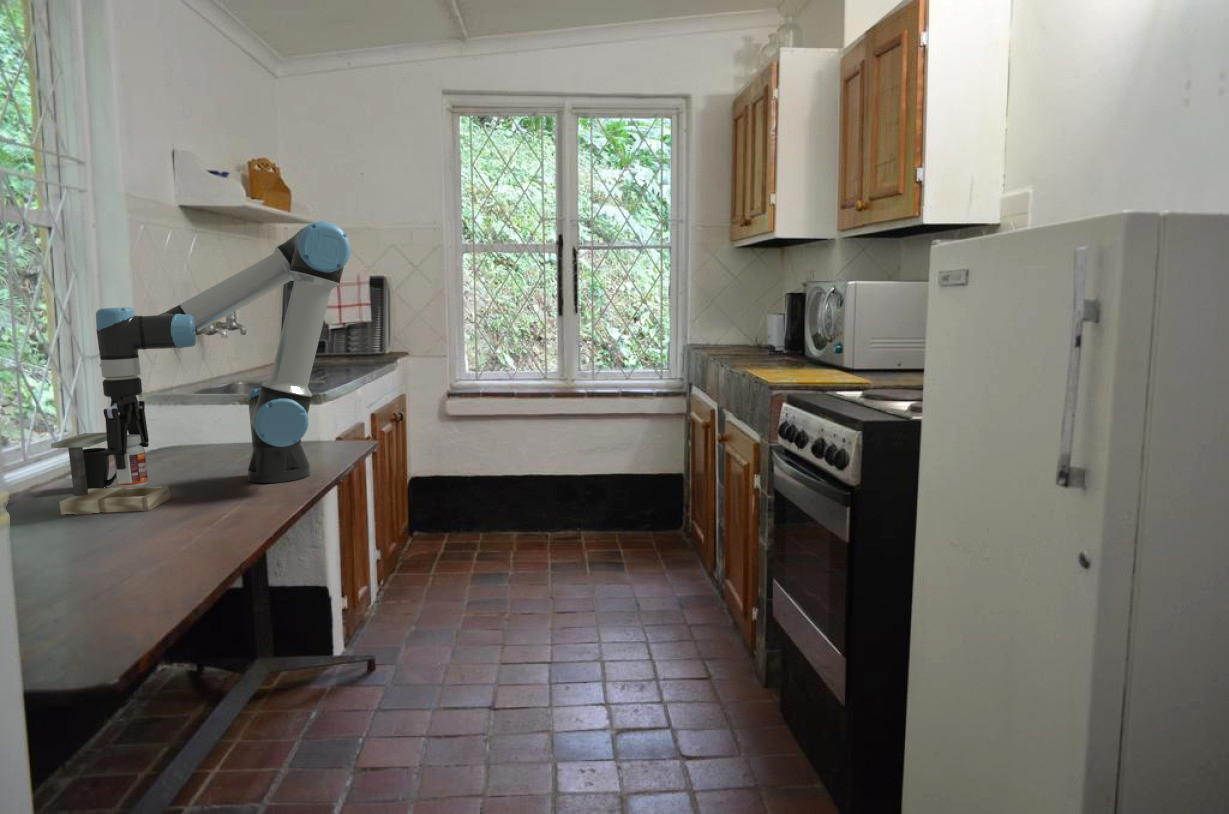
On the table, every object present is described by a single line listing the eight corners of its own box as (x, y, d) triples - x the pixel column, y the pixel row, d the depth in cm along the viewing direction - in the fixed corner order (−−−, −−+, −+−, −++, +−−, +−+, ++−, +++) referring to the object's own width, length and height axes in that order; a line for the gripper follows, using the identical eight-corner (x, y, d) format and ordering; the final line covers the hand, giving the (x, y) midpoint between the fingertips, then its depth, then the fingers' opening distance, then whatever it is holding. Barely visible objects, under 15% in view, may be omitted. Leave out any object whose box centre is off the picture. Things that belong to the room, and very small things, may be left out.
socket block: (172, 497, 207) (165, 430, 204) (145, 512, 194) (137, 440, 191) (91, 500, 206) (83, 433, 203) (59, 515, 193) (50, 443, 191)
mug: (121, 490, 216) (116, 452, 215) (68, 493, 214) (63, 455, 213) (133, 482, 224) (129, 445, 223) (82, 485, 222) (77, 448, 221)
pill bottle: (147, 486, 198) (141, 437, 196) (115, 490, 195) (110, 439, 194) (149, 481, 203) (144, 432, 202) (119, 484, 201) (113, 435, 199)
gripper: (126, 373, 205) (136, 471, 208) (80, 383, 186) (92, 490, 189) (159, 372, 205) (168, 469, 209) (116, 382, 186) (128, 489, 190)
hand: (132, 479), depth 199 cm, fingers closed on pill bottle, 6 cm apart
